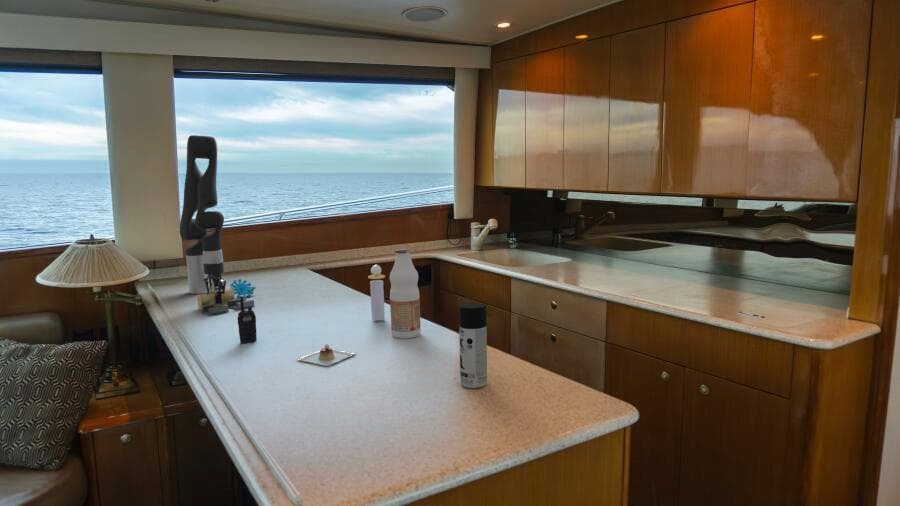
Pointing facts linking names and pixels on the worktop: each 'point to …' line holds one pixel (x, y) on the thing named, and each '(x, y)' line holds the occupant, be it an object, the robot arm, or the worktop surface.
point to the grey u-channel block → (226, 306)
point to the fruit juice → (404, 297)
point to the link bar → (211, 299)
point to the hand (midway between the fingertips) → (216, 303)
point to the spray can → (473, 345)
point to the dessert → (326, 355)
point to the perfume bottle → (377, 294)
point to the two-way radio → (246, 324)
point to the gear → (242, 288)
